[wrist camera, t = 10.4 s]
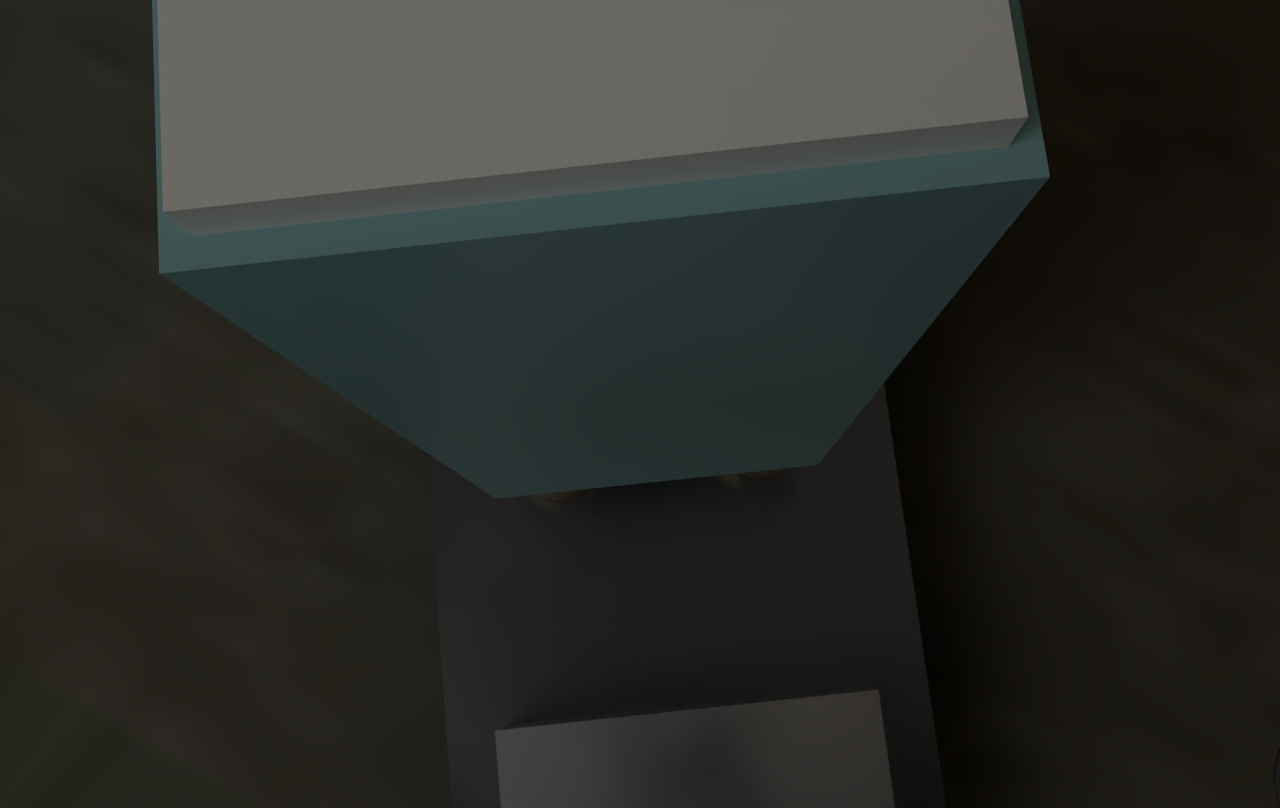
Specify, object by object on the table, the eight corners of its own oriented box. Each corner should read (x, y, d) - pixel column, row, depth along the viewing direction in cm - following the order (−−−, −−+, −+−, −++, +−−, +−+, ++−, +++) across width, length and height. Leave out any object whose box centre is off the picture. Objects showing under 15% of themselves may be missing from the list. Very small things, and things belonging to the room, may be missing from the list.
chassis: (963, 1040, 20) (1020, 1125, 17) (490, 1088, 20) (450, 1182, 17) (834, 146, 23) (860, 62, 20) (422, 194, 23) (377, 118, 20)
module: (817, 465, 18) (1073, 148, 6) (495, 498, 18) (126, 252, 6) (778, 159, 19) (933, -635, 7) (472, 193, 19) (108, -535, 7)
